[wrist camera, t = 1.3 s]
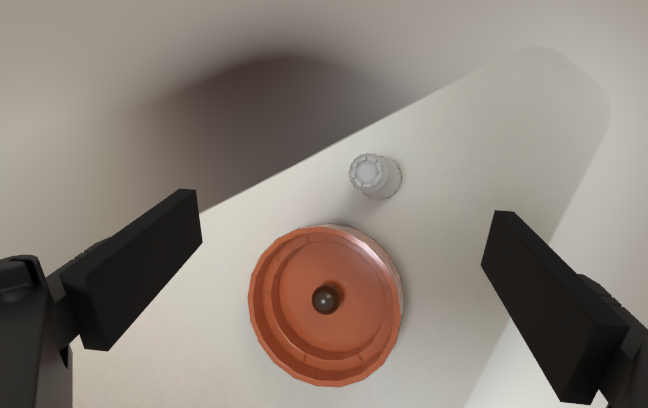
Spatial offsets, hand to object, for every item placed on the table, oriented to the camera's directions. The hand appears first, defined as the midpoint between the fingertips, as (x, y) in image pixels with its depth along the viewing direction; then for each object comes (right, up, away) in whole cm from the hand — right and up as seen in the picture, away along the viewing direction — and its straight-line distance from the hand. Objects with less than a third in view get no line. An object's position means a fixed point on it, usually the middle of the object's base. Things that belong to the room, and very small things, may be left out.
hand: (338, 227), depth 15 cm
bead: (0, -9, +19) cm, 21 cm away
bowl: (0, -9, +21) cm, 23 cm away
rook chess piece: (+5, +4, +20) cm, 21 cm away
